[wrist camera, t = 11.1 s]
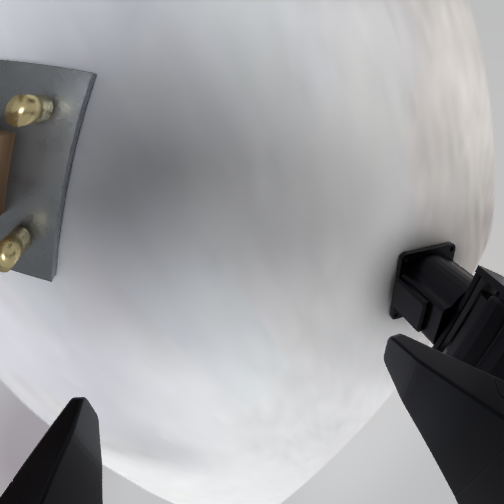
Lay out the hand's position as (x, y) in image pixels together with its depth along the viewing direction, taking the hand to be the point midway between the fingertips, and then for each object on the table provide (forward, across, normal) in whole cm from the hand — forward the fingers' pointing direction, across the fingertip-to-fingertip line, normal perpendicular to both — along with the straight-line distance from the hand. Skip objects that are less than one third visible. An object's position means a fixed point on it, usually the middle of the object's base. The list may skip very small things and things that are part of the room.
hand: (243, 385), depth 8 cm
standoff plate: (+13, +14, -7) cm, 20 cm away
